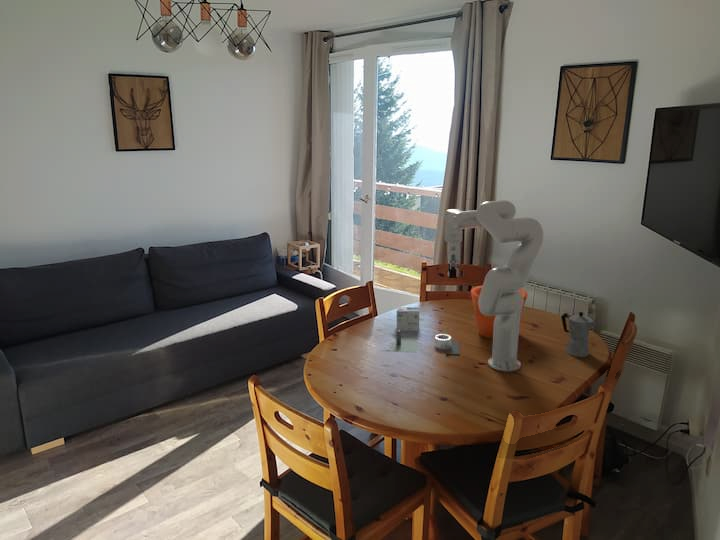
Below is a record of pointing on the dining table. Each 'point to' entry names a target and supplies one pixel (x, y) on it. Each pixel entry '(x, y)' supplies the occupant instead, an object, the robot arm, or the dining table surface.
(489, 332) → the flowerpot
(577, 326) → the coffeepot
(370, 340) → the dining table surface
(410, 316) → the light bulb box
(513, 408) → the dining table surface
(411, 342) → the peg stand
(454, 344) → the charcoal mat
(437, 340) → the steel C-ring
